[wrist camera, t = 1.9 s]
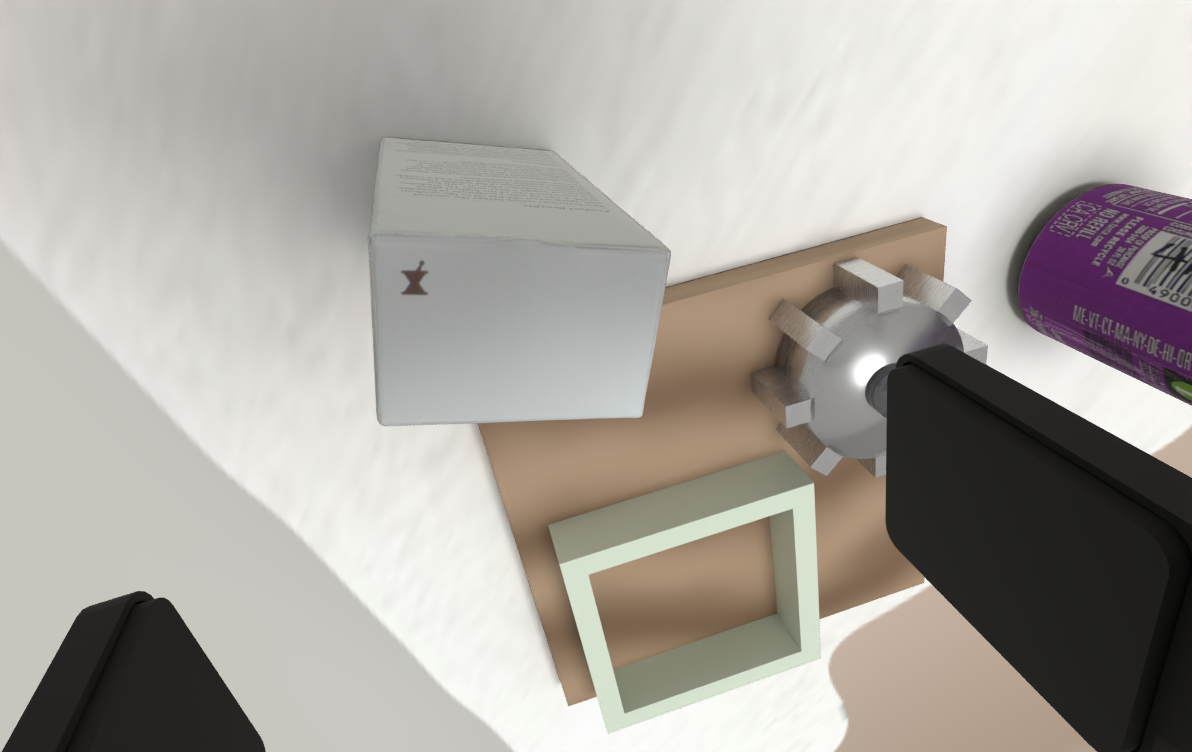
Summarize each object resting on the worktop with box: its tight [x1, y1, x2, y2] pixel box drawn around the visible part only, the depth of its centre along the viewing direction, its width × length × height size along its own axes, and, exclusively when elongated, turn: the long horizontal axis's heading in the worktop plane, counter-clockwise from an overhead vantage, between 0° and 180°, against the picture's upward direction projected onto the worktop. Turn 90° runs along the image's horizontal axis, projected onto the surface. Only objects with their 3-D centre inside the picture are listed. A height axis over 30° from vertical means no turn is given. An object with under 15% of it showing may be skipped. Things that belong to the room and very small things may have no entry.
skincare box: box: [368, 137, 671, 426], centre depth 19 cm, size 6×4×12 cm
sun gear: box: [751, 256, 988, 478], centre depth 28 cm, size 9×9×4 cm
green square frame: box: [548, 451, 821, 734], centre depth 32 cm, size 11×11×2 cm
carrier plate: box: [478, 218, 947, 706], centre depth 32 cm, size 20×20×2 cm
